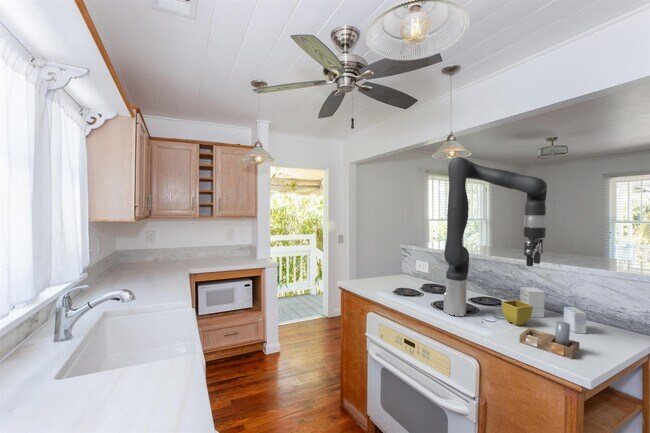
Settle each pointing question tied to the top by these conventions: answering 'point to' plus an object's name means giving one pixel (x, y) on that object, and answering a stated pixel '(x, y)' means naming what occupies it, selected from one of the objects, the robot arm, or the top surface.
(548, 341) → the socket block
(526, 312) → the flower pot
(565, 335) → the plug
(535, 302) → the supplement box
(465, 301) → the robot arm
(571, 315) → the medicine box
